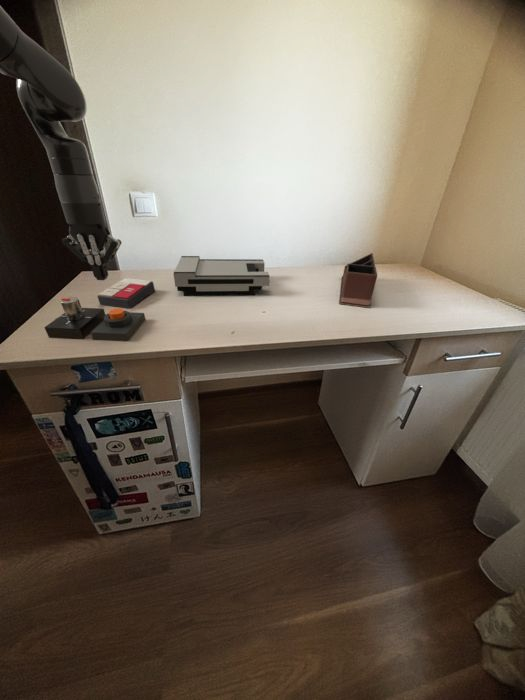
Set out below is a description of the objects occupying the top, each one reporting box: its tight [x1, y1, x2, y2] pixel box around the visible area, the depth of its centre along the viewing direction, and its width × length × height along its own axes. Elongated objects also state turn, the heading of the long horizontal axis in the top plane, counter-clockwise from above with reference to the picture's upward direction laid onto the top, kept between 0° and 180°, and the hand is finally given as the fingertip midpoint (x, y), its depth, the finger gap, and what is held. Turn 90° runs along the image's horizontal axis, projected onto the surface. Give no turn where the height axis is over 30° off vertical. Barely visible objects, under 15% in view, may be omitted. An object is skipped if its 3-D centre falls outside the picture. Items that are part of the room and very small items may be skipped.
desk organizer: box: [338, 252, 378, 309], centre depth 104 cm, size 10×29×11 cm, turn 165°
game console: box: [173, 255, 271, 297], centre depth 105 cm, size 21×32×8 cm, turn 96°
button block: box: [90, 310, 146, 342], centre depth 76 cm, size 12×9×4 cm
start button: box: [108, 308, 125, 320], centre depth 75 cm, size 4×4×2 cm
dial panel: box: [44, 307, 106, 340], centre depth 76 cm, size 12×9×3 cm
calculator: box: [96, 277, 156, 309], centre depth 94 cm, size 11×4×15 cm
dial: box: [60, 296, 84, 321], centre depth 74 cm, size 4×4×5 cm
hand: (102, 279), depth 69 cm, fingers closed
